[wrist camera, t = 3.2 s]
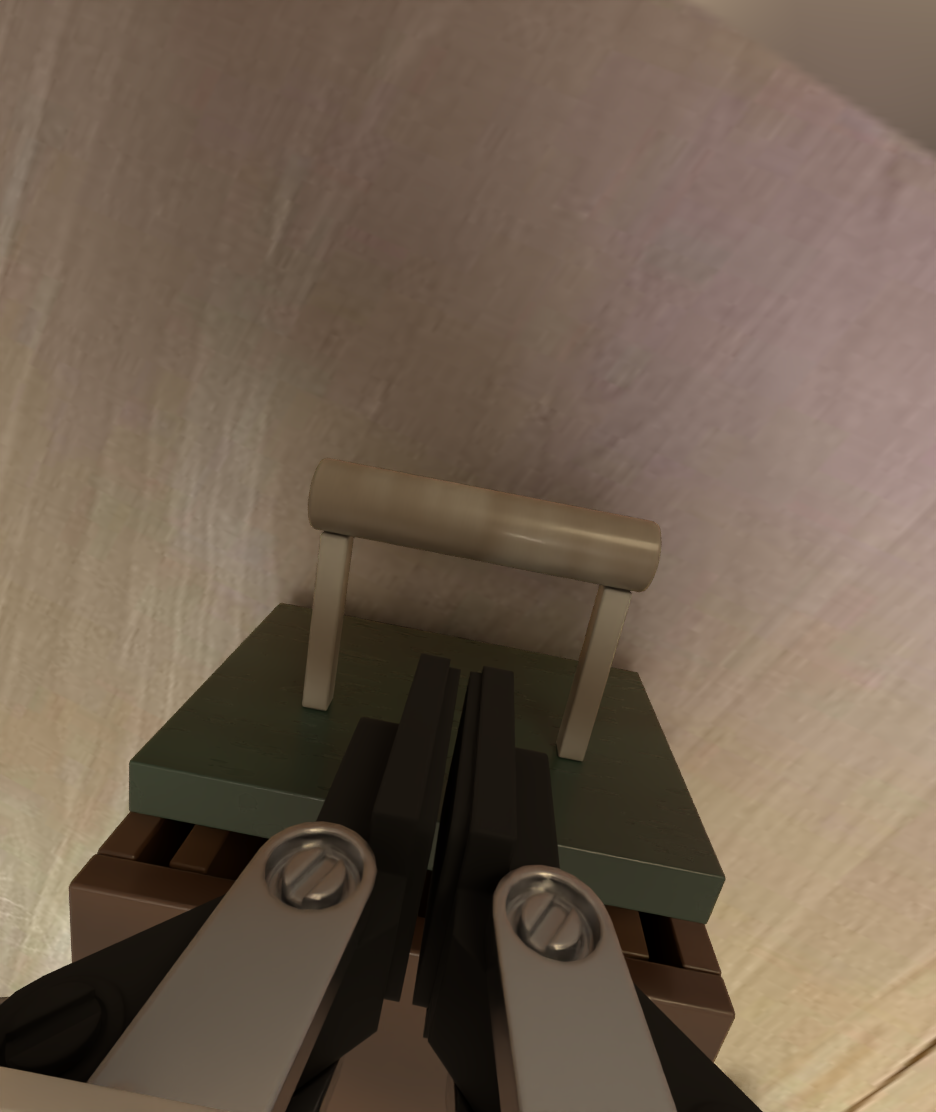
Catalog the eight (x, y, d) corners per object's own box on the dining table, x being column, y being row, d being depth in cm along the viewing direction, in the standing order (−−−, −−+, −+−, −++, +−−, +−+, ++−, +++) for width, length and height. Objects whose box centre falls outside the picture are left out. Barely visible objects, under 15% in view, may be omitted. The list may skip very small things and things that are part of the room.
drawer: (296, 416, 17) (128, 458, 9) (693, 494, 17) (844, 598, 9) (251, 920, 23) (127, 1190, 15) (542, 977, 23) (560, 1275, 15)
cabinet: (267, 647, 20) (66, 884, 11) (632, 718, 20) (738, 1016, 11) (240, 957, 25) (83, 1307, 15) (537, 1015, 25) (556, 1399, 15)
